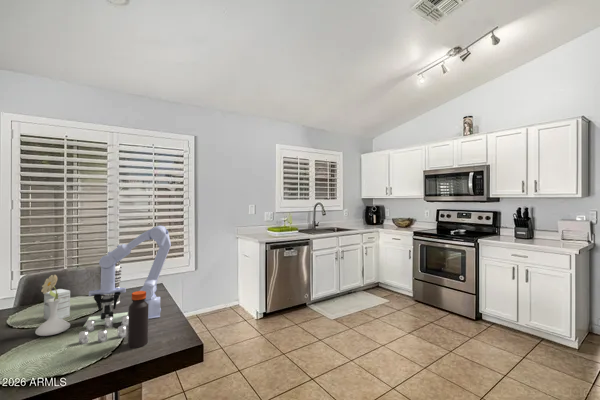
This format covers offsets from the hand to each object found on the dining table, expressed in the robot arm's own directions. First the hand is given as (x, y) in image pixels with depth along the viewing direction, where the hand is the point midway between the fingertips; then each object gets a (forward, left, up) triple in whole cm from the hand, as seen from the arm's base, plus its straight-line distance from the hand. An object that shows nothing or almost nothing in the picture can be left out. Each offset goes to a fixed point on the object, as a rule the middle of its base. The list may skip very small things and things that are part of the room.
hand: (107, 309), depth 138 cm
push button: (0, +2, -4) cm, 4 cm away
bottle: (-15, +33, -5) cm, 37 cm away
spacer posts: (-2, +17, -5) cm, 18 cm away
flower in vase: (+18, +8, -5) cm, 20 cm away
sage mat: (0, 0, -5) cm, 5 cm away
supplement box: (+22, -12, -5) cm, 26 cm away
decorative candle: (+2, -26, -5) cm, 27 cm away
